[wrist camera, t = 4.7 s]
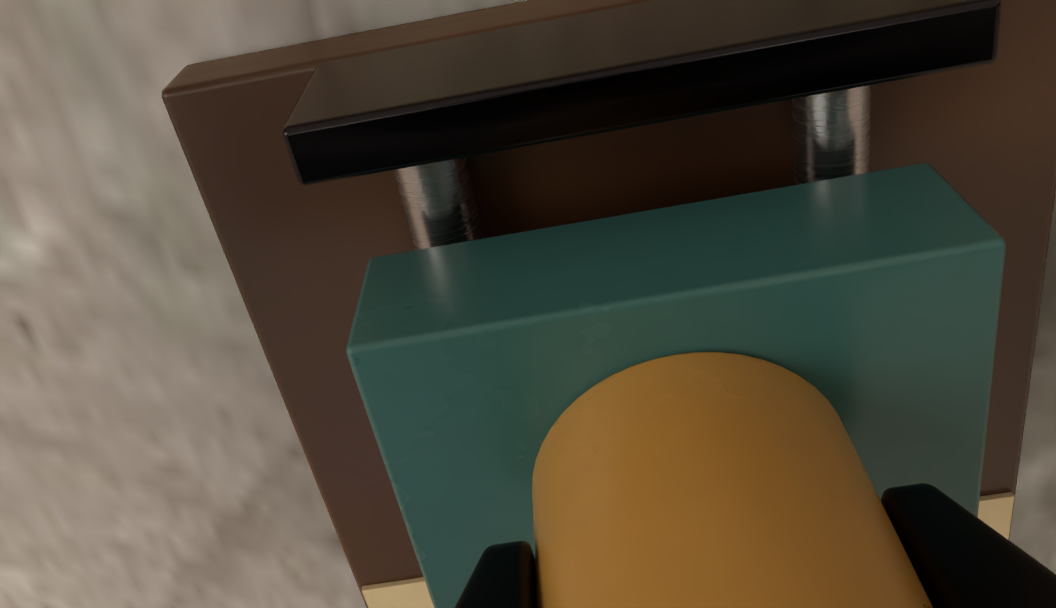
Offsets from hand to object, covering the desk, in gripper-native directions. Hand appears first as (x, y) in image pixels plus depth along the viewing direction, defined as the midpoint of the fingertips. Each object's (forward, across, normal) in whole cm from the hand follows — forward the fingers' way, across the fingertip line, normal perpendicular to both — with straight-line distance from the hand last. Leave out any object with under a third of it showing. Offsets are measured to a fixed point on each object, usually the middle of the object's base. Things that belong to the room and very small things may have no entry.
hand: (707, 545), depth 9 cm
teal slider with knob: (+3, 0, 0) cm, 3 cm away
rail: (+5, 0, +3) cm, 6 cm away
